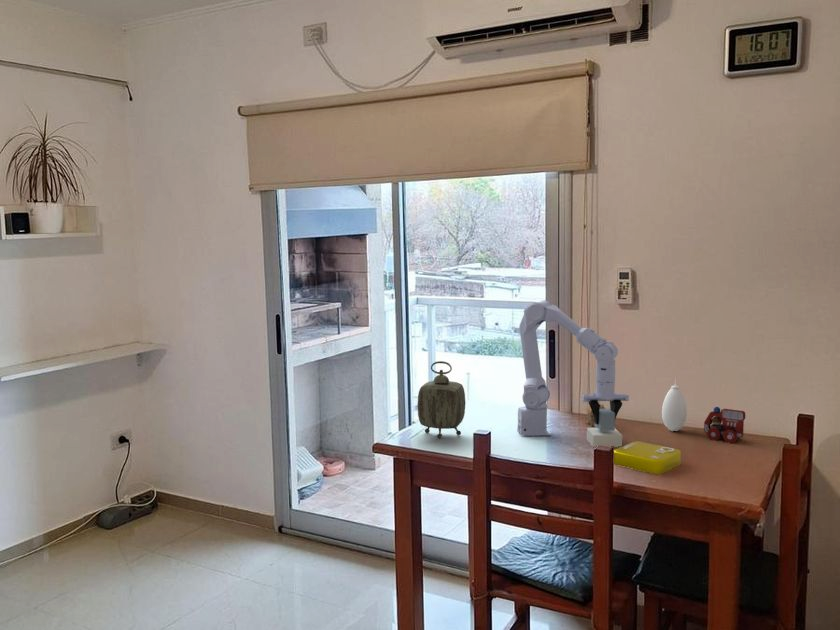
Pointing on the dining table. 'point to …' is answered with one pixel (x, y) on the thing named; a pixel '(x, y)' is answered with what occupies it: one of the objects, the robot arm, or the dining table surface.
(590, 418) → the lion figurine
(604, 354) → the robot arm
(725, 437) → the toy fire truck
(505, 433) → the dining table surface
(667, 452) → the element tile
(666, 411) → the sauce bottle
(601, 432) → the base block
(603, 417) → the grey block
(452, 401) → the tabletop clock
